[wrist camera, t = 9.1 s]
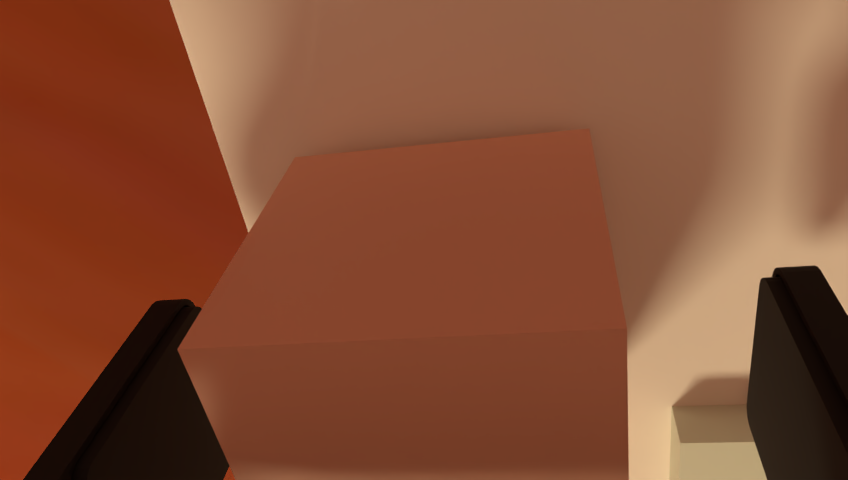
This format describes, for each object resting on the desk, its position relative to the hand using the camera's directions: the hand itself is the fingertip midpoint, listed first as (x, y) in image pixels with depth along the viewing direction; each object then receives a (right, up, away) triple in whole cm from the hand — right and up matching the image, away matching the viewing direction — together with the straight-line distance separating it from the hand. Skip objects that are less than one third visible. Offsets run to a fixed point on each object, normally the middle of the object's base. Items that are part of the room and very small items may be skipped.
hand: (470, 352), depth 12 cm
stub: (0, +1, +1) cm, 2 cm away
